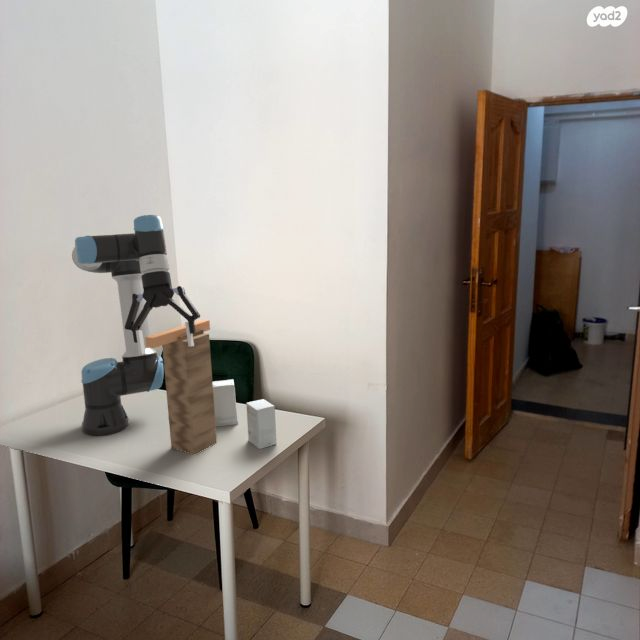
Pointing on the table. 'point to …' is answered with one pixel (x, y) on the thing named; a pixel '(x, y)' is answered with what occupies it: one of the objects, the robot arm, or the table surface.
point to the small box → (261, 423)
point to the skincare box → (224, 403)
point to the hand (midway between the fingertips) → (166, 350)
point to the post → (190, 393)
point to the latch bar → (173, 334)
